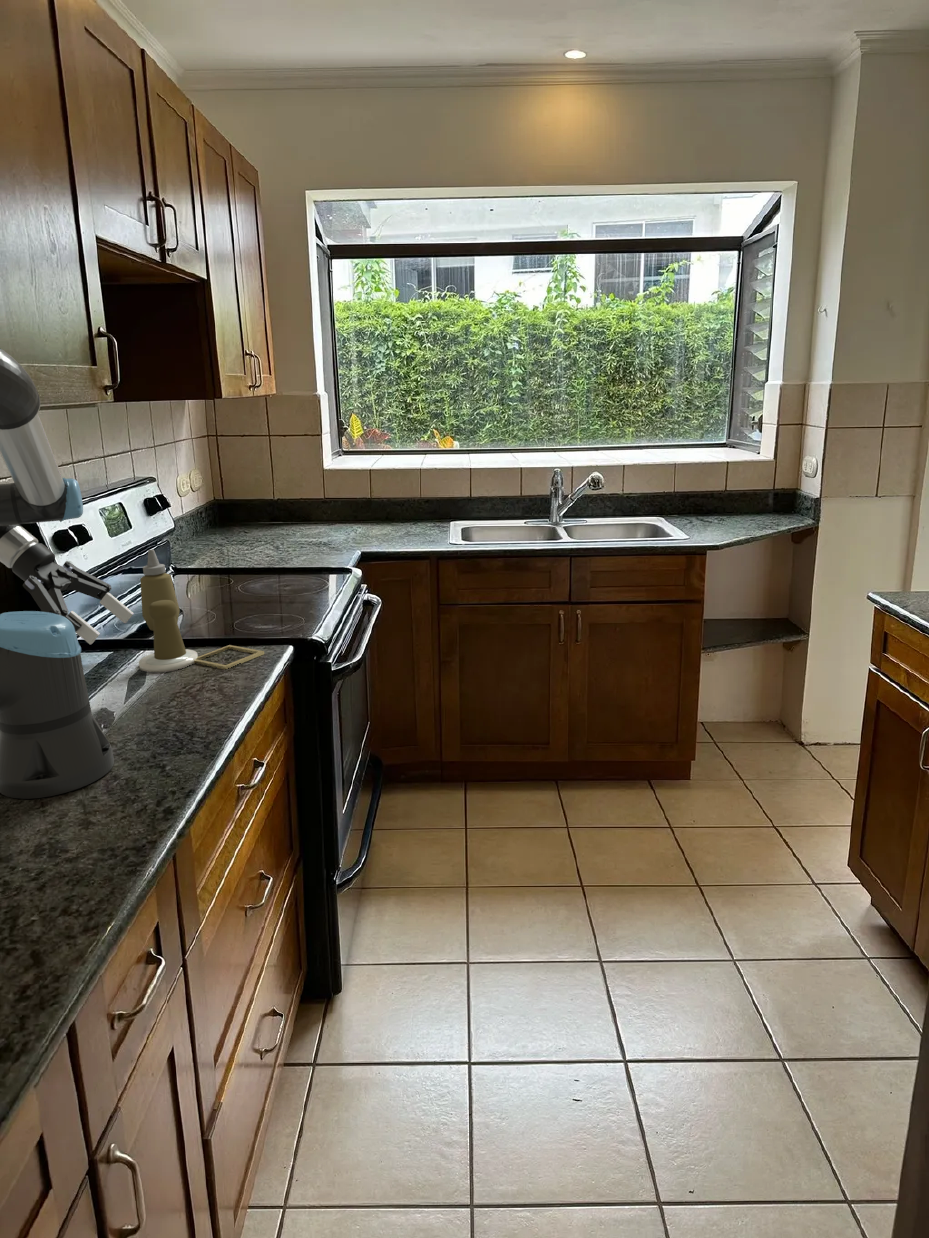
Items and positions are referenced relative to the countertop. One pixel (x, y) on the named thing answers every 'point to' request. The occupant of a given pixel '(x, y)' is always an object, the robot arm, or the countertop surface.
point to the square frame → (255, 654)
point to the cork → (166, 630)
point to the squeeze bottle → (155, 587)
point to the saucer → (167, 662)
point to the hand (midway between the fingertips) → (113, 628)
